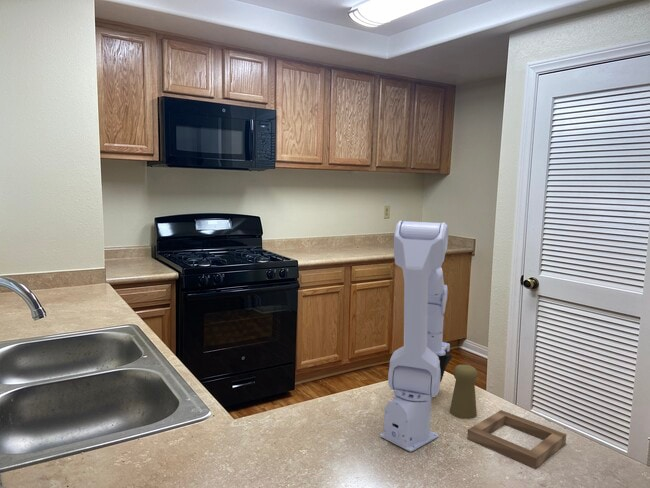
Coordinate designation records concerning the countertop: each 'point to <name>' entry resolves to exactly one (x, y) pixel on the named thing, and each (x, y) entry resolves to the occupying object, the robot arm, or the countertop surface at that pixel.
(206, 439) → the countertop surface
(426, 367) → the robot arm
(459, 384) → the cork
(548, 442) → the socket block
